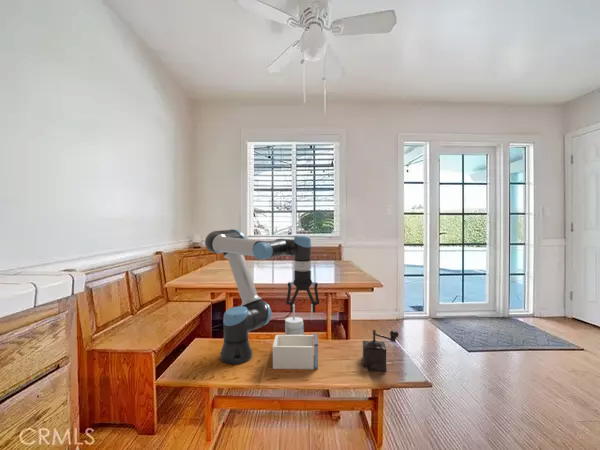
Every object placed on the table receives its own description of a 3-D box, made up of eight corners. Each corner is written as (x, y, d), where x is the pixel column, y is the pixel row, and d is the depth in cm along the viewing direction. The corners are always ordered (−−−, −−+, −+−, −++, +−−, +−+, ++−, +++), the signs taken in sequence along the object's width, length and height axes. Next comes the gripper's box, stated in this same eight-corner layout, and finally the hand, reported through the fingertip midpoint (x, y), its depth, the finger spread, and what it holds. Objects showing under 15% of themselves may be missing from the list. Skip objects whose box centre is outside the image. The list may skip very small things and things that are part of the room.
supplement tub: (307, 348, 170) (307, 320, 170) (291, 353, 165) (291, 324, 164) (297, 342, 178) (296, 315, 178) (281, 346, 173) (281, 318, 172)
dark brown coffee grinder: (362, 370, 147) (362, 330, 146) (361, 359, 158) (362, 322, 157) (398, 373, 145) (399, 332, 144) (395, 361, 156) (396, 323, 155)
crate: (272, 371, 147) (272, 346, 147) (276, 357, 161) (275, 334, 161) (313, 371, 147) (313, 347, 146) (313, 357, 161) (313, 335, 160)
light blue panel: (314, 369, 147) (314, 345, 146) (313, 354, 161) (313, 332, 160) (318, 369, 147) (318, 345, 146) (317, 354, 160) (317, 332, 160)
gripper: (279, 271, 148) (279, 321, 149) (325, 271, 147) (325, 322, 149) (280, 268, 155) (281, 316, 157) (324, 268, 155) (324, 316, 156)
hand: (302, 319), depth 153 cm, fingers open, 8 cm apart
